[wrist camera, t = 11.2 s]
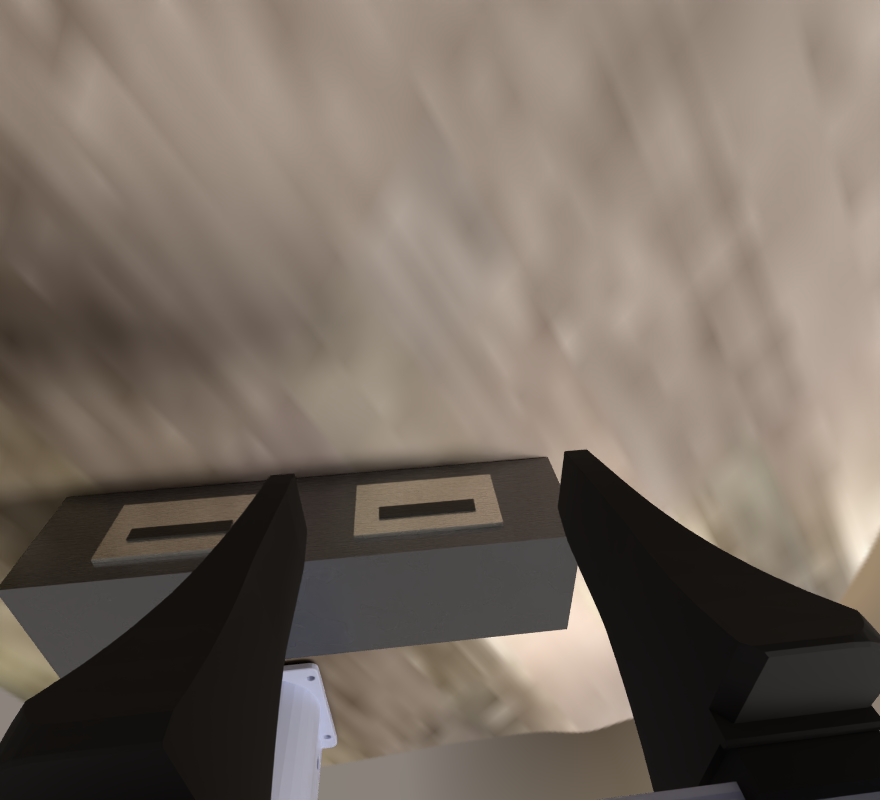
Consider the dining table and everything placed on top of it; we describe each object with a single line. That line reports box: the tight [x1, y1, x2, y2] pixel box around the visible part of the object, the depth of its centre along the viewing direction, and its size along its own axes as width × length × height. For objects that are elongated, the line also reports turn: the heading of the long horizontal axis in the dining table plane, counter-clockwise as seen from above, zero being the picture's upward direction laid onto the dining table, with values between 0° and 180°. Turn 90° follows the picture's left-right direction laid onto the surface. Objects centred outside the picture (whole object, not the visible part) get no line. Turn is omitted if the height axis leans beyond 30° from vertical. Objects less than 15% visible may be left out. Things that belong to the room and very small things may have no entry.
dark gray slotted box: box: [0, 457, 578, 679], centre depth 23 cm, size 6×22×5 cm, turn 92°
